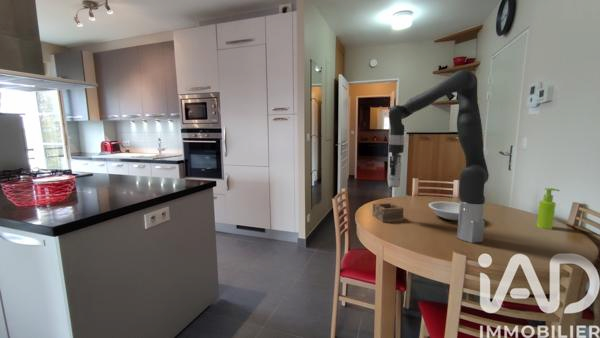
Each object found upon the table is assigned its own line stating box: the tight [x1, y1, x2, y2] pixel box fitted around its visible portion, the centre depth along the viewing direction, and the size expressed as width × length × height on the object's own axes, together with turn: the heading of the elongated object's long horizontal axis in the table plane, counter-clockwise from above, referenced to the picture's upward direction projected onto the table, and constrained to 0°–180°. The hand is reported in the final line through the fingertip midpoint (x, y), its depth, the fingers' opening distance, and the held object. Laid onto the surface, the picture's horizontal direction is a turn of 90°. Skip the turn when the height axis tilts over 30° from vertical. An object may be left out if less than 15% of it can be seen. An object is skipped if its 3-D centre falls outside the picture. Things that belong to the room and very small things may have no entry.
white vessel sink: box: [428, 201, 460, 221], centre depth 148 cm, size 24×24×7 cm
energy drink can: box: [387, 159, 402, 188], centre depth 144 cm, size 6×6×15 cm
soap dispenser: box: [536, 187, 560, 230], centre depth 133 cm, size 6×7×20 cm
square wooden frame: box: [371, 202, 404, 223], centre depth 149 cm, size 12×12×7 cm
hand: (394, 174), depth 144 cm, fingers closed on energy drink can, 6 cm apart
